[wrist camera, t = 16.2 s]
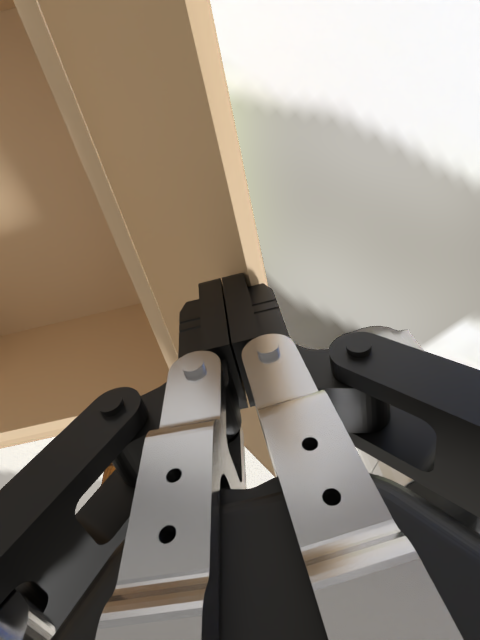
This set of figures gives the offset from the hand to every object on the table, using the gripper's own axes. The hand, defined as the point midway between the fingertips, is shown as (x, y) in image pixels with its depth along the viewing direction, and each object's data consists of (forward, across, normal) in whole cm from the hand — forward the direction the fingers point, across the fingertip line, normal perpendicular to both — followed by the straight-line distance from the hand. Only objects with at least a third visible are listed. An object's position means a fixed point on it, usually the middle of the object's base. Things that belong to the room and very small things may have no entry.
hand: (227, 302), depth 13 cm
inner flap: (+4, +2, 0) cm, 4 cm away
